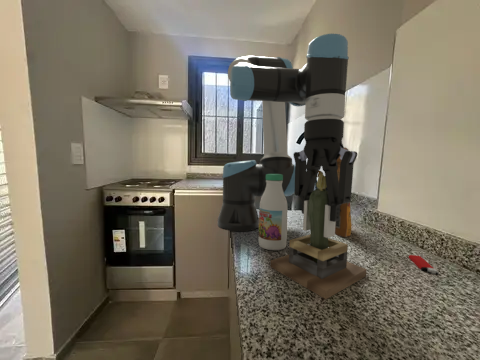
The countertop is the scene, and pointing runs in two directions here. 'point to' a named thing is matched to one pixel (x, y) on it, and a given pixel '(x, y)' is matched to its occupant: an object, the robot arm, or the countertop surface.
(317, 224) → the vegetable
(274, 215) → the milk bottle
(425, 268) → the lighter
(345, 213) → the pancake mix bag
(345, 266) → the collar stand
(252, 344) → the countertop surface
